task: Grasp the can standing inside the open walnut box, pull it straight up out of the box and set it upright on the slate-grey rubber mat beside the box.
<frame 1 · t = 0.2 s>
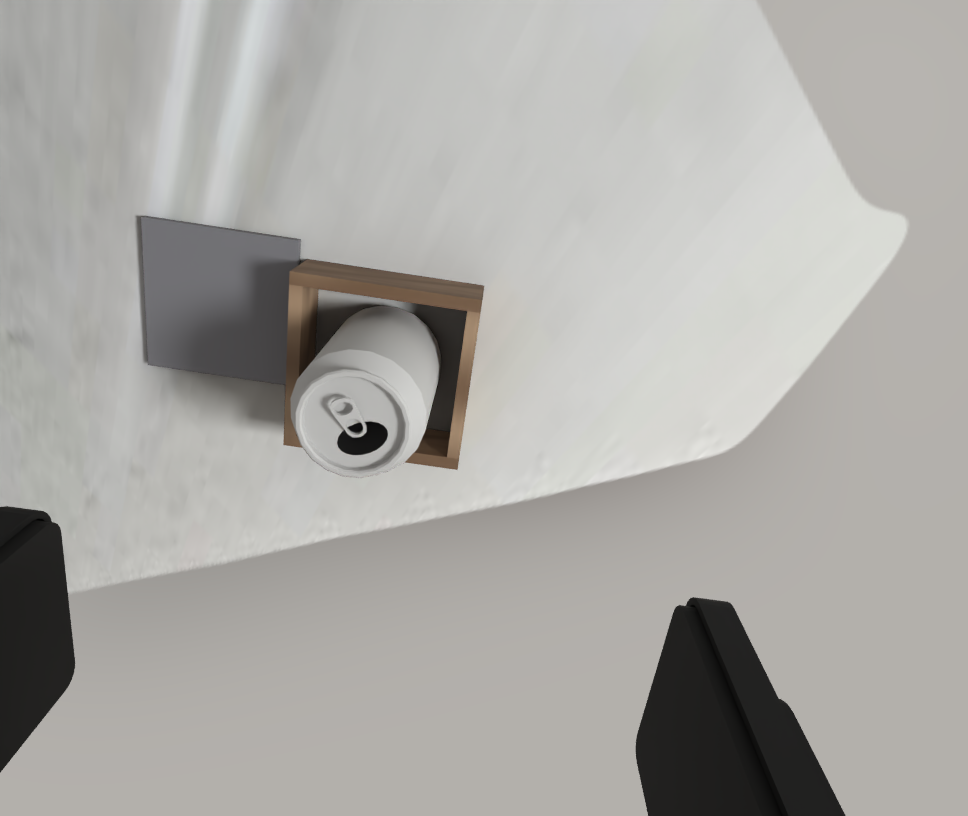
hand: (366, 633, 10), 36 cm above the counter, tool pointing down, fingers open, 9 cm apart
rubber mat: (223, 303, 45), on the counter
walnut box: (388, 356, 47), on the counter
can: (388, 355, 47), resting in walnut box
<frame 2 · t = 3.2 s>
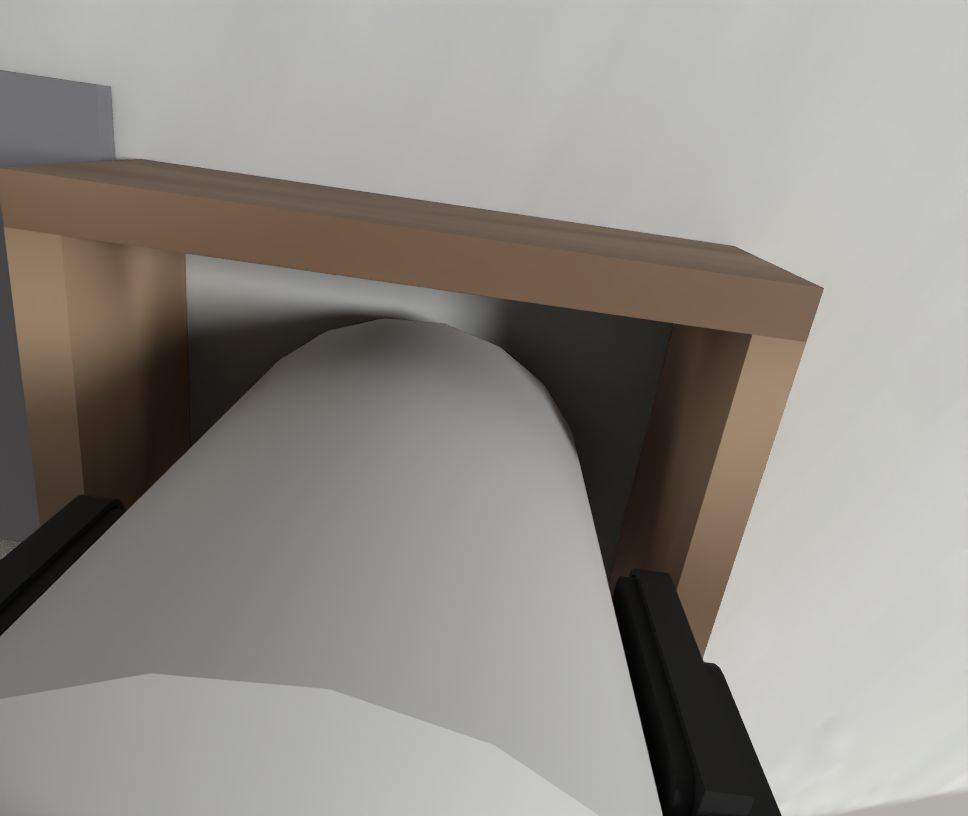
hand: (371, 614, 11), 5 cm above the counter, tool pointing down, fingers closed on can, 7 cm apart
walnut box: (411, 468, 15), on the counter
can: (412, 466, 16), resting in walnut box, touching gripper
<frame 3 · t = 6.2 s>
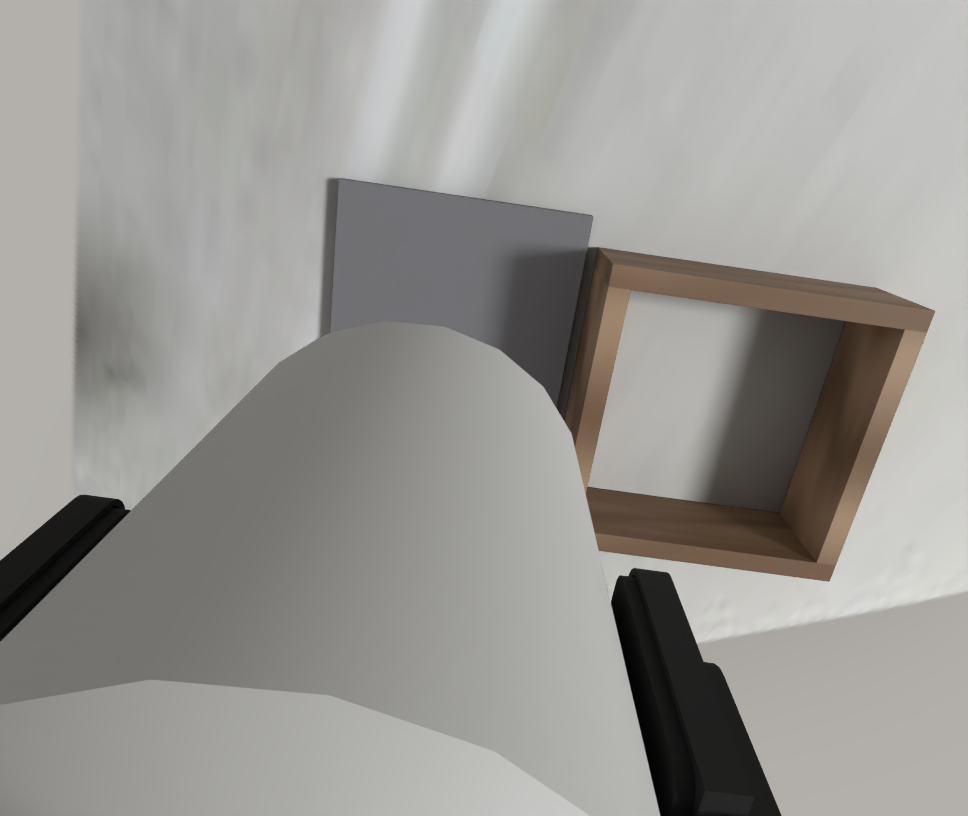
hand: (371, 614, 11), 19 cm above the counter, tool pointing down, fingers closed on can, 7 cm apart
rubber mat: (452, 319, 29), on the counter
walnut box: (702, 399, 30), on the counter
can: (411, 468, 16), point 14 cm above the counter, touching gripper
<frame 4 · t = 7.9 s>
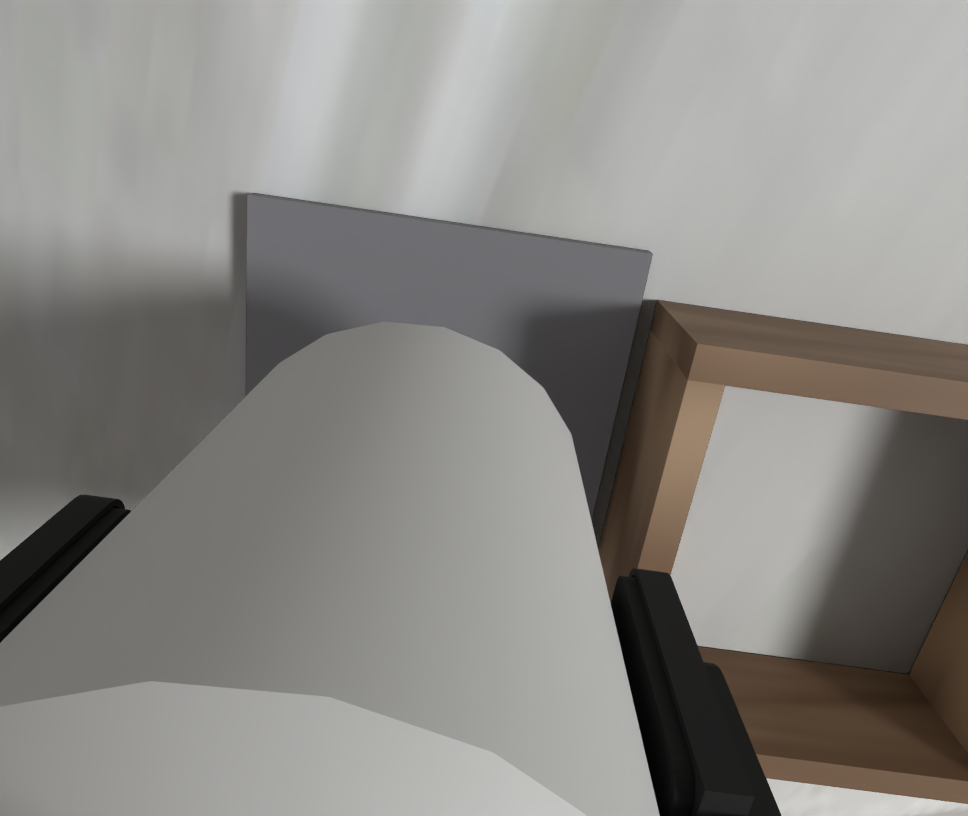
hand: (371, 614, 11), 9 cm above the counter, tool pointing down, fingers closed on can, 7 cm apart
rubber mat: (431, 405, 19), on the counter
walnut box: (805, 521, 20), on the counter
can: (411, 469, 16), point 4 cm above the counter, touching gripper
when the fingers open (7 cm above the counter, at t = 9.4 s): can drops 1 cm, resting on rubber mat.
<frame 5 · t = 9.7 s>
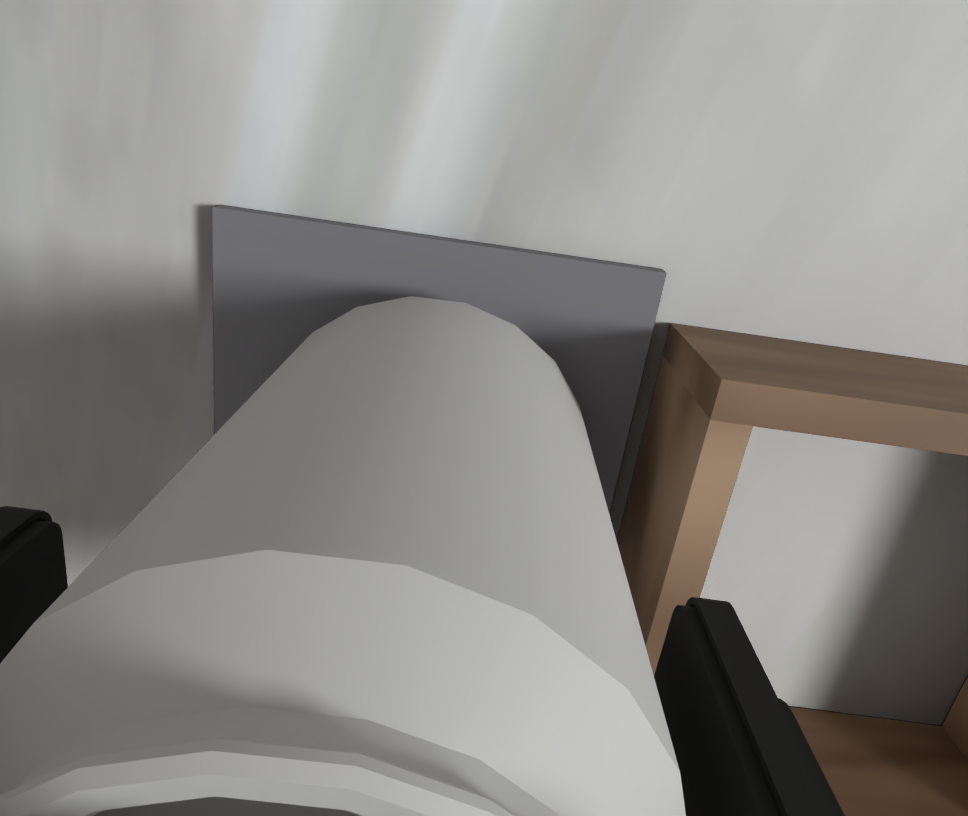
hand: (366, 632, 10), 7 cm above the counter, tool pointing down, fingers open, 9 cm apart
rubber mat: (420, 437, 17), on the counter
walnut box: (832, 563, 18), on the counter
can: (429, 436, 17), resting on rubber mat
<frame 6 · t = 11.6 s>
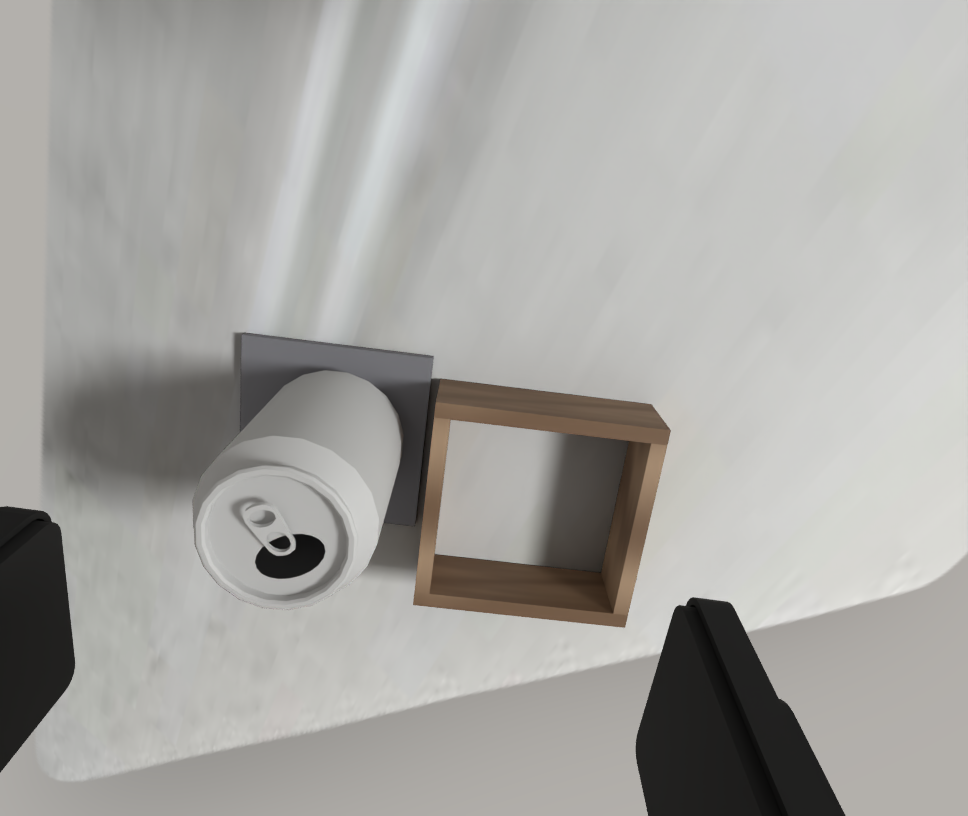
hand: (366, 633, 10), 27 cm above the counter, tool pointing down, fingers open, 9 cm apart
rubber mat: (334, 431, 38), on the counter
walnut box: (530, 487, 39), on the counter
can: (337, 430, 37), resting on rubber mat
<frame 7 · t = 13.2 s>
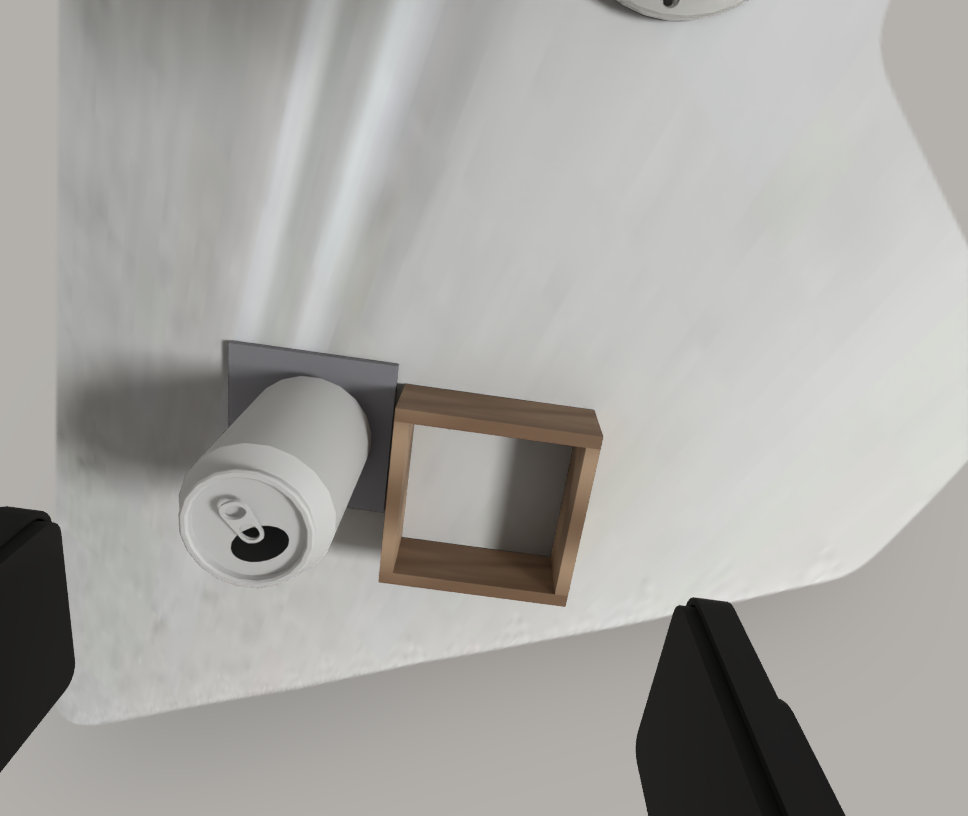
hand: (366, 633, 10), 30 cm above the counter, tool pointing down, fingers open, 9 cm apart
rubber mat: (311, 428, 42), on the counter
walnut box: (486, 481, 43), on the counter
can: (314, 427, 42), resting on rubber mat
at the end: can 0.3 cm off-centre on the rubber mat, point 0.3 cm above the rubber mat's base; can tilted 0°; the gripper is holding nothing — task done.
